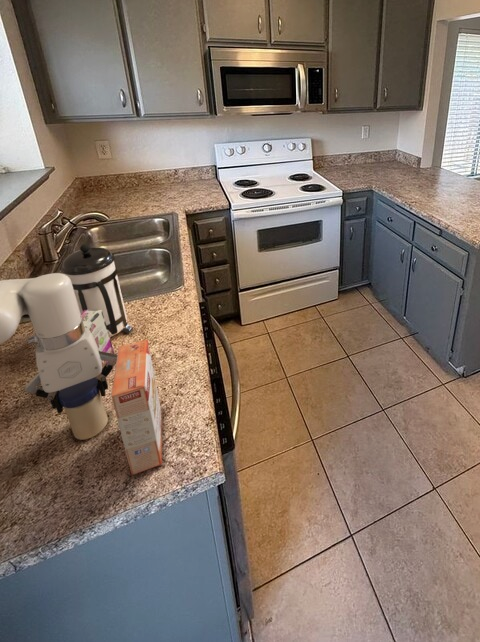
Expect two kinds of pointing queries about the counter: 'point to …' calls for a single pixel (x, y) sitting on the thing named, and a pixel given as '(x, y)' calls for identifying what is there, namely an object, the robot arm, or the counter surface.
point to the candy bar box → (98, 330)
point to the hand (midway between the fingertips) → (82, 399)
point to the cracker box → (138, 406)
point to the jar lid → (79, 393)
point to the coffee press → (97, 285)
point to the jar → (88, 418)
